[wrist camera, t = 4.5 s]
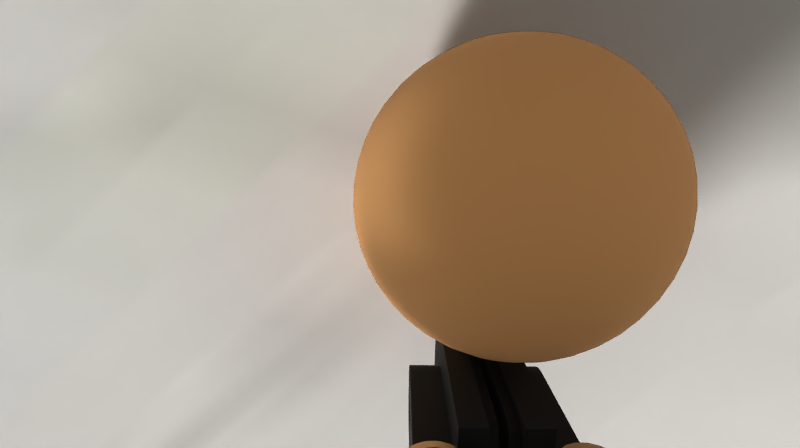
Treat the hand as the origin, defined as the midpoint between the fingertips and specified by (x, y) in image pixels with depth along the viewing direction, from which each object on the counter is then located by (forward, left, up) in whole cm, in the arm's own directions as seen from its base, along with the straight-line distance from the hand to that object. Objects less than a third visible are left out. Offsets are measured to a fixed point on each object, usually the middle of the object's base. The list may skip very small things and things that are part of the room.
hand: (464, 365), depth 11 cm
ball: (0, +5, +2) cm, 5 cm away
